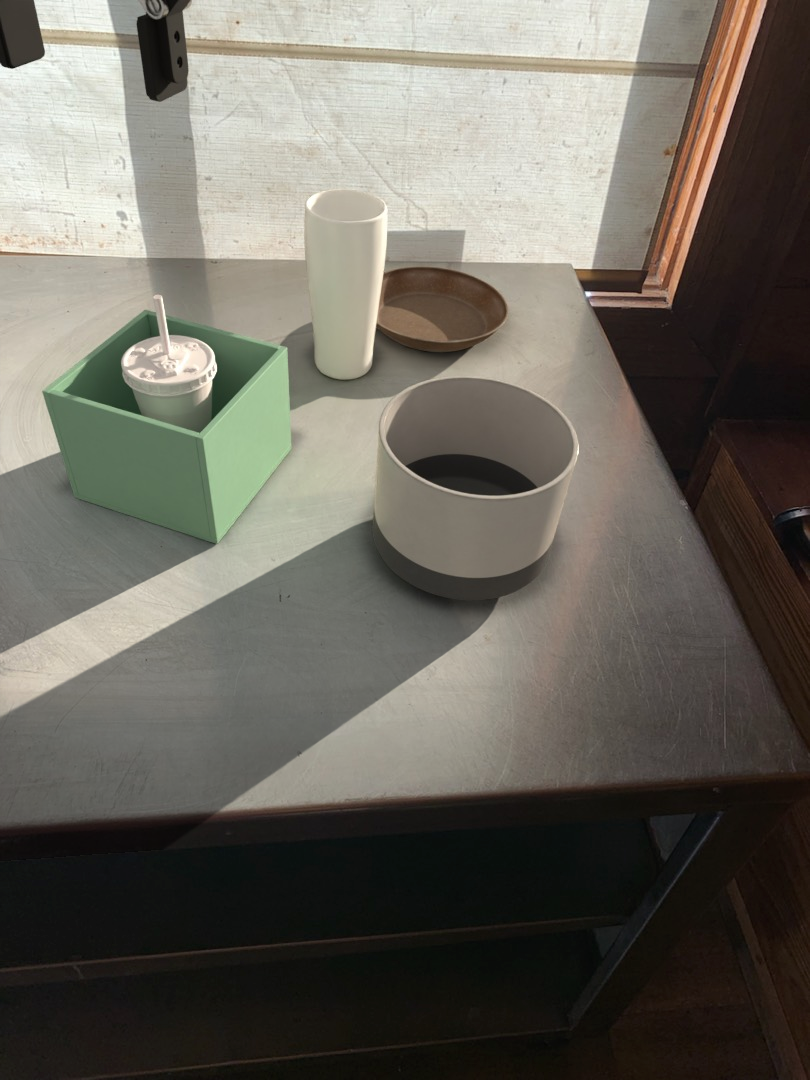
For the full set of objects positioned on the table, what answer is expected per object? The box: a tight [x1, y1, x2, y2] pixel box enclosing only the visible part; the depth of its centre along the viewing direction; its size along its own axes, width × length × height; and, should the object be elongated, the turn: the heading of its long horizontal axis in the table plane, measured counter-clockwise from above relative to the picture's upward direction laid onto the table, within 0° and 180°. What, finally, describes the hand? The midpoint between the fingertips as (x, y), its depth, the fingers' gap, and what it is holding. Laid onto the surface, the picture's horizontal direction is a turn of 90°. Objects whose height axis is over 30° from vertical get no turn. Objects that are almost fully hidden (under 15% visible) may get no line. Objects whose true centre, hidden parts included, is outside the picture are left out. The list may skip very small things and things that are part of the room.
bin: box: [42, 309, 292, 545], centre depth 58 cm, size 12×12×10 cm
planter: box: [372, 375, 580, 601], centre depth 54 cm, size 13×13×10 cm
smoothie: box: [121, 294, 217, 433], centre depth 56 cm, size 6×6×14 cm
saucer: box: [376, 265, 509, 353], centre depth 79 cm, size 15×15×3 cm
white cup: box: [303, 188, 388, 381], centre depth 68 cm, size 7×7×15 cm
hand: (94, 78), depth 46 cm, fingers open, 9 cm apart
